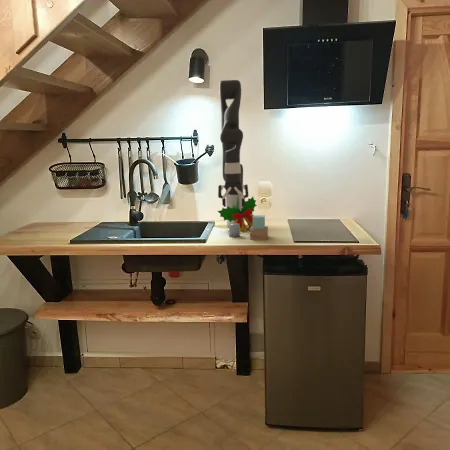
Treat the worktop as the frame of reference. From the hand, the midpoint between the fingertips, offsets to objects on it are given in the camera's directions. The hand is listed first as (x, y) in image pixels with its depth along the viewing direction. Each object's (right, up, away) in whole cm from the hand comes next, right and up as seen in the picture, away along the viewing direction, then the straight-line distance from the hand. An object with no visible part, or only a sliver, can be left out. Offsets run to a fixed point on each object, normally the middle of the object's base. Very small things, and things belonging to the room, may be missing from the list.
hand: (233, 206), depth 212 cm
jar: (0, -14, +3) cm, 15 cm away
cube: (+12, -10, -3) cm, 16 cm away
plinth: (+12, -15, -3) cm, 19 cm away
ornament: (+3, -11, +18) cm, 22 cm away
